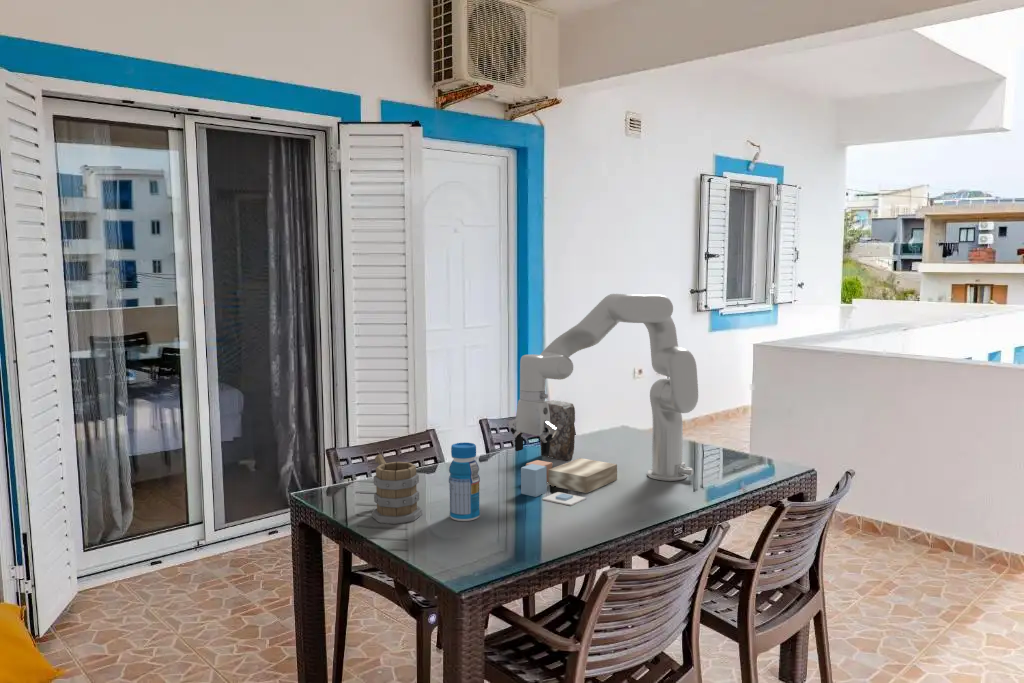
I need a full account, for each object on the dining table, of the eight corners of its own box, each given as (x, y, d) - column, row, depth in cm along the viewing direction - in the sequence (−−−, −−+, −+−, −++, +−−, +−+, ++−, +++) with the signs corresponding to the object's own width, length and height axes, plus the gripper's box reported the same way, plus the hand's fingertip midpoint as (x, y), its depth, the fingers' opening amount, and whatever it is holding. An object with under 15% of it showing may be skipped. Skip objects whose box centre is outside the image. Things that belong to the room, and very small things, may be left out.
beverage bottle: (452, 523, 199) (451, 449, 197) (446, 513, 207) (445, 442, 205) (483, 520, 201) (482, 447, 199) (476, 510, 209) (475, 440, 207)
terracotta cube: (552, 481, 238) (552, 462, 238) (541, 485, 234) (541, 466, 233) (537, 478, 242) (537, 459, 242) (526, 482, 237) (525, 463, 237)
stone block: (537, 456, 270) (536, 401, 268) (549, 452, 276) (548, 399, 274) (566, 462, 262) (566, 405, 260) (578, 458, 267) (578, 402, 265)
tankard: (427, 518, 203) (426, 464, 202) (383, 526, 197) (381, 471, 196) (400, 499, 221) (399, 449, 219) (359, 506, 214) (357, 455, 213)
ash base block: (617, 479, 239) (617, 464, 238) (586, 493, 225) (586, 476, 224) (580, 472, 247) (580, 458, 247) (548, 485, 233) (548, 469, 233)
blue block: (546, 492, 226) (546, 466, 225) (535, 496, 222) (535, 470, 221) (532, 489, 229) (531, 463, 229) (521, 493, 225) (520, 467, 224)
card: (586, 498, 219) (586, 495, 219) (570, 505, 213) (570, 502, 213) (557, 493, 225) (557, 489, 225) (542, 499, 219) (542, 496, 219)
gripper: (563, 397, 220) (562, 454, 222) (517, 391, 231) (516, 446, 233) (549, 400, 215) (548, 459, 216) (502, 394, 225) (501, 450, 227)
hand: (531, 452), depth 224 cm, fingers open, 9 cm apart
